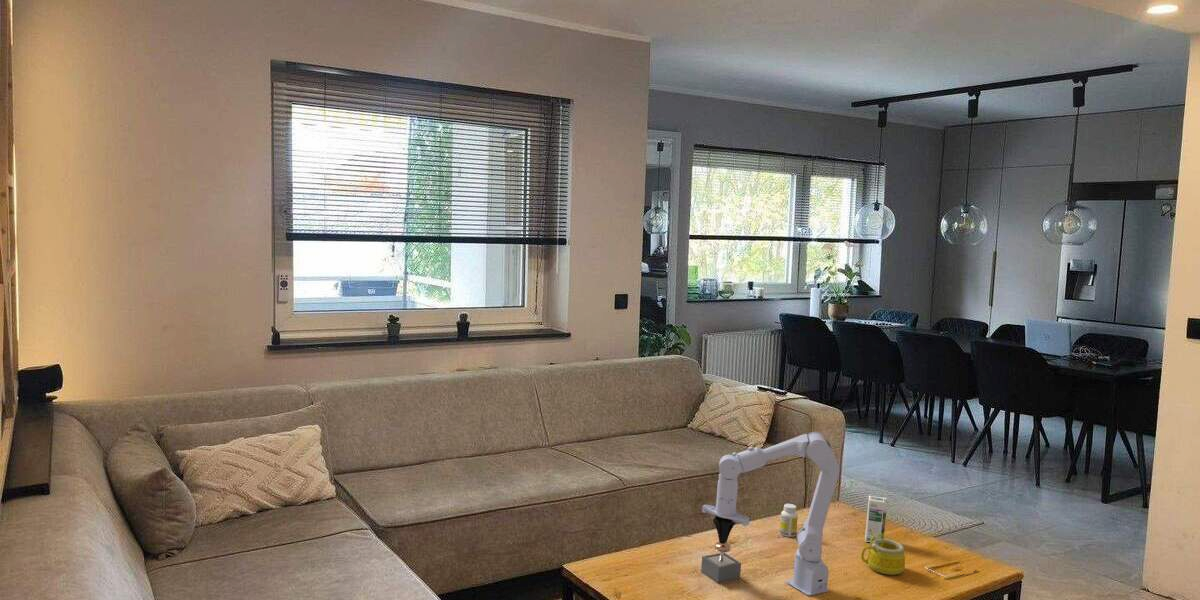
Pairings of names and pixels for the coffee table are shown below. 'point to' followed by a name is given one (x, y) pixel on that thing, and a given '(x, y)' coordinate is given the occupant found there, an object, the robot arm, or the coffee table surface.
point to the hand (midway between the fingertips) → (723, 542)
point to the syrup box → (876, 517)
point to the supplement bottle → (788, 521)
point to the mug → (885, 556)
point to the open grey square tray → (720, 569)
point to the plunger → (721, 555)
